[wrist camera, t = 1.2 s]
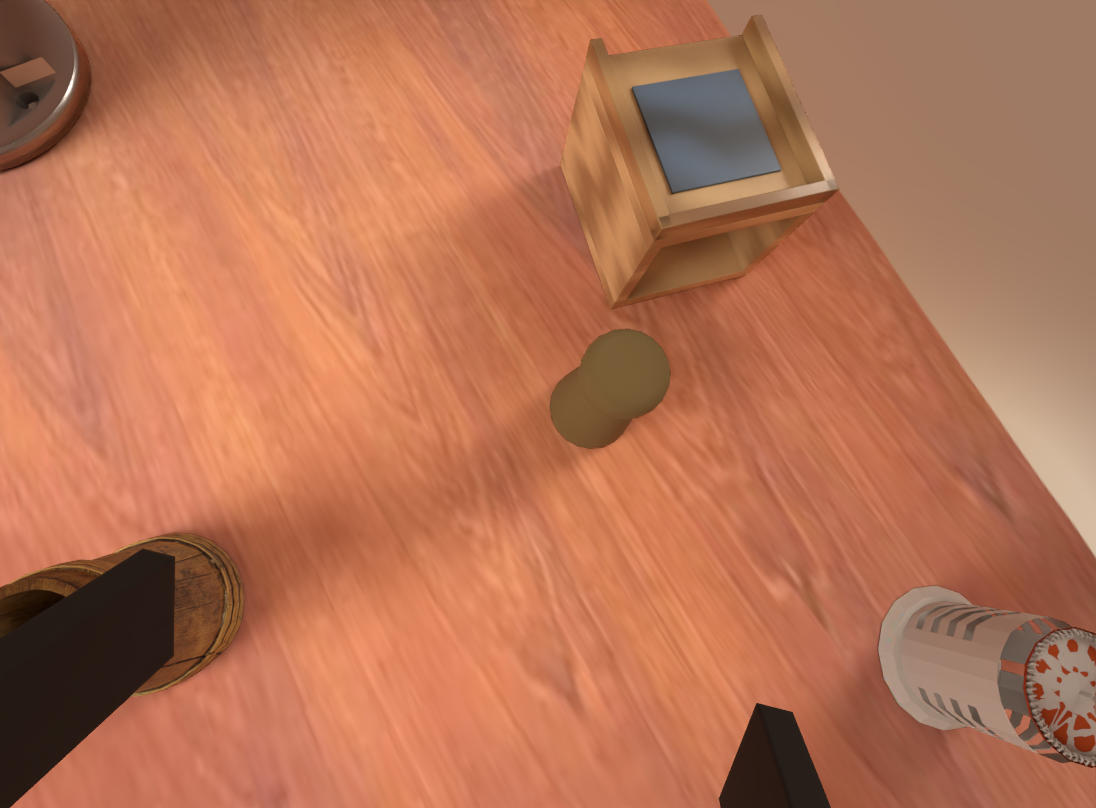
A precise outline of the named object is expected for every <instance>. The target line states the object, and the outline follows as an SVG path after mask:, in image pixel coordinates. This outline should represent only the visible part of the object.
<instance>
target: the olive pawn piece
mask: <svg viewBox="0 0 1096 808" xmlns="http://www.w3.org/2000/svg"><path fill="white" fill-rule="evenodd" d="M670 374H671V372H670V367H669V361H668V358H667V356H666V355H665V353H664V351H663V349H662V347H661V346H660V345H659V344H658V343H657V342H656V341H655V340H654V339H653V338H651V337H650V336H648V335H646V334H644V333H642V332H641V331H636V330H632V329H618V330H613V331H610V332H608V333H606V334H603V335H601V336H599V337H598V338H597V339H596V340H595V341H593V342H592V343H591V344H590V345H589V347H588V348H587V350H586V352H585V354H584V356H583V358H582V359H581V364H580V366H579V367H578V368H576V369H575V370H573V371H572V372H571V373H569V374H568V375H566V376H565V377H564V378H563V379H562V380H561V381H560V382H559V383H558V384H557V386H556V388H555V389H554V391H553V393H552V397H551V403H550V411H551V418H552V421H553V423H554V425H555V427H556V429H557V431H558V432H559V433H560V434H561V435H562V436H563V437H564V438H565V439H566V440H567V441H569V442H571V443H573V444H575V445H576V446H579V447H584V448H589V449H592V448H600V447H604V446H606V445H608V444H611V443H613V442H614V441H615V440H616V439H617V438H618V437H620V436H621V435H622V434H623V432H624V431H625V429H626V428H627V426H628V425H629V423H630V422H631V420H632V419H633V418H638V417H640V416H642V415H644V414H646V413H649V412H650V411H652V410H653V409H654V408H655V407H656V406H657V405H658V404H659V403H660V402H661V401H662V400H663V398H664V396H665V394H666V392H667V389H668V387H669V382H670Z"/></svg>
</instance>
